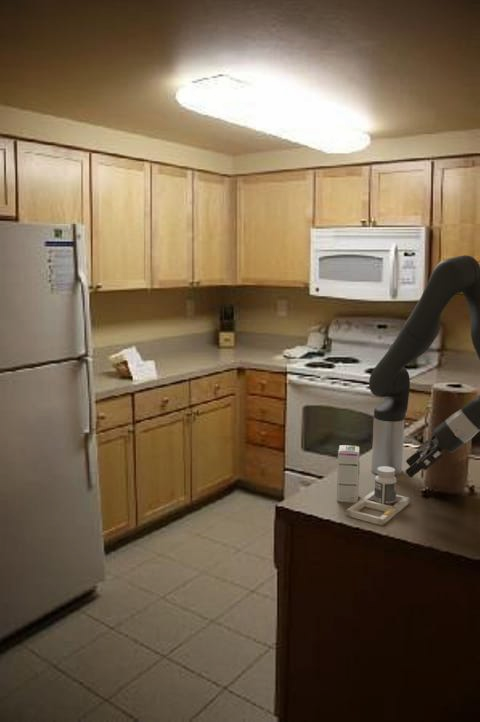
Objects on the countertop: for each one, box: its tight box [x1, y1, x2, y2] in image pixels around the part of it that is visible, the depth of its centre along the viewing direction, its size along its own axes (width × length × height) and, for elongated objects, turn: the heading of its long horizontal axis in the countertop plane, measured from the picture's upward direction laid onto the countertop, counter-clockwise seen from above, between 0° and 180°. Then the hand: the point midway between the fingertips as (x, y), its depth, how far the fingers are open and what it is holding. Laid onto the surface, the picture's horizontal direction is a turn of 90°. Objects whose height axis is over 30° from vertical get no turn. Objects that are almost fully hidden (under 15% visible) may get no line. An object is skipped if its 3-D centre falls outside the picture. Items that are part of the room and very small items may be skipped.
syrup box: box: [336, 444, 361, 504], centre depth 172 cm, size 6×6×14 cm
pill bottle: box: [373, 466, 398, 506], centre depth 169 cm, size 6×6×10 cm
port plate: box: [345, 489, 410, 526], centre depth 166 cm, size 18×10×2 cm, turn 144°
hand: (408, 469), depth 167 cm, fingers open, 8 cm apart
